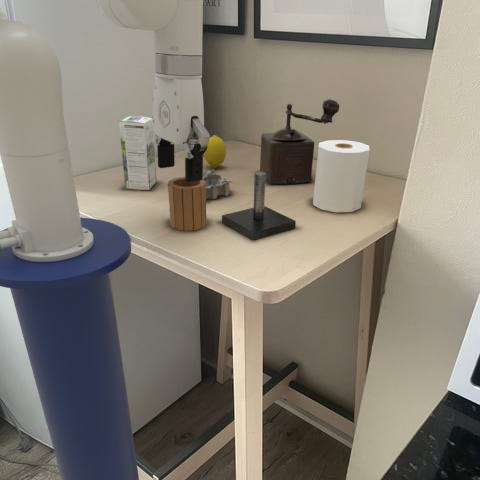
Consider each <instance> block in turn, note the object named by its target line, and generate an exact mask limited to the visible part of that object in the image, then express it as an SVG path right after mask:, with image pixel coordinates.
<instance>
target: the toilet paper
mask: <svg viewBox="0 0 480 480" xmlns="http://www.w3.org/2000/svg"><path fill="white" fill-rule="evenodd" d="M370 151H371V149H370V145H368V144H365V143H363V142H360V141H354V140H347V139H327V140H324V141H321V142H318V150H317V159H316V169H315V177H314V178H315V180H314V187H313V188H314V189H313V200H312V206H314V207H316V208H318V209H319V210H321V211H326V212H330V213H331V212H332V213H337V214H338V213H352V212H356V211H358V210H360V209H361V208H362V202H363V195H364V190H365V183H366V177H367V176H366V175H367V170H368V163H369V158H370Z"/></svg>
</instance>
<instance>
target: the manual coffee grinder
mask: <svg viewBox="0 0 480 480" xmlns="http://www.w3.org/2000/svg"><path fill="white" fill-rule="evenodd" d="M321 106H322V111H323V114H322V115H321V117H320V118H317V117H314V116H311V115H306V114H300V113H295V112H293V110H292V108H293V104H292V103H287V105H286V111H285V114H286V125H285V127H284V128H281V129H279V130H277V131H275V132H267V133H266V132H264V133H261V138H260V139H261V140H260V157H259V159H260V160H259V172H265V173H266V180H265V182H267V184H268V185H271V186H272V185H273V186H274V185H294V184H303V183H311V182H313V181H312V173H313V163H314V162H313V161H314V152H315V141H314V140H313V139H312V138H310V137H309V136H307V135H305V134H304V133H303V132H300V131H298V130H297V129H295V128H292V127H291V119H292V117H294V118H296V119H301V120H307V121H311V122H315V123H317V124H324V125H326V124H328V123H331V124H332V123H333V118H334V116H335V115H336V114H337V113H339V110H340V104H339V103H338V101H337V100H335V99H331V98H328V99H325V100H323V102H322V105H321Z"/></svg>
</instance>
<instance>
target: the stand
mask: <svg viewBox="0 0 480 480" xmlns="http://www.w3.org/2000/svg"><path fill="white" fill-rule="evenodd" d="M253 182H254V184H253V207H250V208H245V209H242V210H238V211H233V212H230V213H225V214H222V215H221V223H222V224H223V225H226V226H227V227H229V228H231V229H233V230H234V231H236V232H238V233H239V234H241V235H243V236H245V237H246V238H248V239H250V240H252V241H255V240H259V239H263V238H267V237H271V236H272V235H276V234H280V233H284V232H287V231H290V230H294V229H296V221H297V220H295V219H292V217H291V218H290V217H288V216H286V215H285V214H282V213H280V212H278V211H276V210H274V209H272V208H270V207H268V206H266V205H265V203H266V202H265V201H266V200H265V199H266V173H265V172H260V171H256V172H254V181H253Z"/></svg>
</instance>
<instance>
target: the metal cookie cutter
mask: <svg viewBox="0 0 480 480" xmlns="http://www.w3.org/2000/svg"><path fill="white" fill-rule="evenodd" d="M203 180H205V182H206V200H207V199H212V200H216V199H218V196H224V197H227V196H229V194H230V184H231V183H233V181H231V179H228V180H227V178H226V177H225V178H223V179H222V176H221V174H220V173H218V172H216V171H215V169H209V170H207V171H204V172H203Z"/></svg>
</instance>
